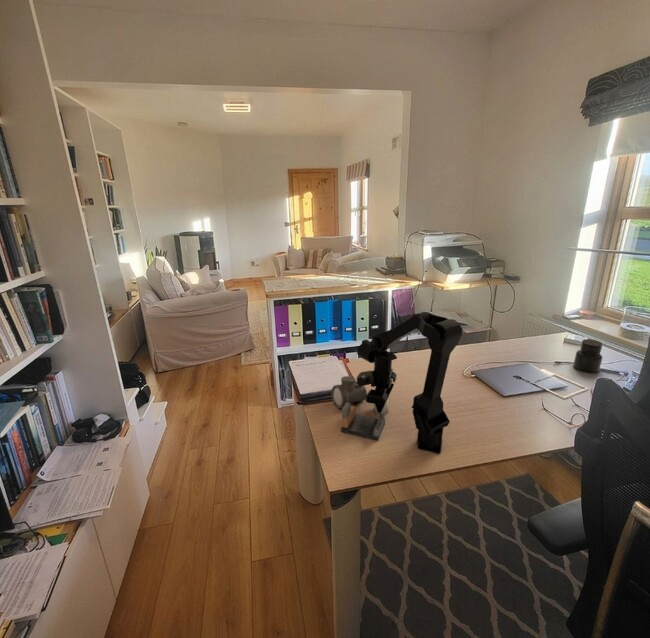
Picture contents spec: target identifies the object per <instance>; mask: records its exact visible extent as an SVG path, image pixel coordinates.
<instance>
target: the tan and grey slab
mask: <svg viewBox="0 0 650 638" xmlns="http://www.w3.org/2000/svg"><path fill="white" fill-rule="evenodd" d="M355 414H356V406H355V405H352V403H348V402H346V403H345V405H344V407H343V408H341V427H345V428H348V426H349V425H350V423H351V421H352V419H353V417H354V416H355Z"/></svg>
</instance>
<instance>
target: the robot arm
mask: <svg viewBox="0 0 650 638" xmlns="http://www.w3.org/2000/svg"><path fill="white" fill-rule="evenodd" d="M416 331H419V332H420V334H421V336H423V337H424V338H427V344H428V345H429V348H430V356H429V362H428V365H427V370H426V375H425V381H424V383H423V384H424V385H423V391H422V392H421V393H419V394H417V395H415V396H414V397H413V400H412V401H413V403H412V405H411V409H412V415H413V418H414V425H415V429H416V430H417V438H416V439H417V440H416V442H417V443H418V444H417V449H420V450H423V451H428V452H432V453H435V454H441V452H442V448H443V434H444V428H446V427H448V426H449V424H450V423H451V420H450V418H449V417H448V416H447V414H446V412H445V410H444V401H443V399H442V397H441V395H442V390H443V388H444V387H443V386H444V381H445V378H446V373H447V369H448V365H449V360H450V357H451V354H452V352H453V350H454V349H455V348H456V347H457V345H458V344H459V342H460V340H461V338H462V336H463V327H462V326H461V324H460V323H459V322H458V321H457V320H456V319H453V318H451V319H450V318H447V317H445V316H440V315H436V314H432V313H430V312H428V311H421V312H417V313H414V314H413V315H411V317H409V318H408V319H405V320H404V321H403V322H400V323H399V324H397V325H395V326H394V327H392V328H390V329H389V330H386V331H383V332H379V333H375V334H373V335H372V337H371V340H369V339H363V340H361V343H360V345H359V346H358V347H357V350H356V354H357V356H358V357H359V358H361V359H363V360H364V361H366V362H369V363H370V364H373V370H367V371H361V372H359V373H358V375H357V376H356V381H355V382H356V383H357V384H358V385H359V386H365V387H366V386H367V385H369V386H370V387H372V388H374V389H369V391H367V395H366V399H365V402H366V403H368V404H373V405H374V404H375V405H376V408H377V412H379V413H381V411H382V409H383V407H384V406H385V404H386V402H387V400H388V399H389V397H390V394H391V392H392V390H393V388H394V386H395V384H394V383H396V381H397V377H398V376H397V374H396V372H394V369H393V368H392V364H393V361H394V360H397V359H398V356H397V355H396V354H395V353H394V351H388V350H389V349H393V348H394V347H396V346H397V345H398V344H399V343H400V341H401V340H402V339H403V338H406V337H407V336H409V335H411V334H412V333H414V332H416Z"/></svg>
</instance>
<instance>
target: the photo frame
mask: <svg viewBox="0 0 650 638" xmlns="http://www.w3.org/2000/svg"><path fill="white" fill-rule="evenodd" d="M540 370H541V371H542V372H544V373H547V374H548V375H550V376H552V377H556V378H559V379H561V380H563V381H566V382H568V383H570V384H572V385H574V386H578V387H580V388H582V389H579V390H577V391H574V392H572V393H569V394H567V395H565V396H563V395H561V394H559V393H556V392H554V391H552V390H550V389H548V388H546V390H545V391H546V392H548V393H550V394H552V395H554V396H556V397H559V398H561V399H563V400H567V399H568V398H571V397H574V396H576V395H579V394H582V393H584V392H586V391H588V390H589V389H590V388H589V387H587V386H584V385H581V384H580V383H577V382H575V381H573V380H570V379H568V378H566V377H563V376H561V375H558V374H556V373H554V372H552V371H549V370H547V369H544V368H541V369H540Z"/></svg>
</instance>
